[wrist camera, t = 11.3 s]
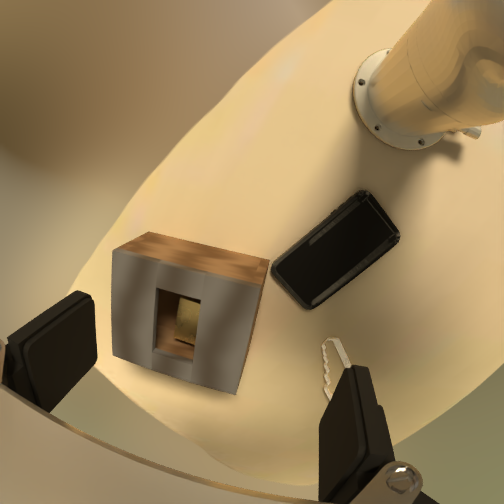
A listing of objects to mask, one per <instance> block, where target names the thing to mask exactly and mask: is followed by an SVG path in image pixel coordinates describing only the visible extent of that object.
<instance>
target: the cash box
mask: <svg viewBox="0 0 504 504" xmlns="http://www.w3.org/2000/svg"><path fill="white" fill-rule="evenodd" d="M269 261H270V260H267V259H262V258H258V257H254V256H250V255H245V254H241V253H237V252H233V251H228V250H224V249H220V248H216V247H211V246H207V245H203V244H199V243H194V242H190V241H186V240H182V239H177V238H173V237H169V236H165V235H161V234H156V233H152V232H147V233H145V234H143V235H141V236H139V237H137V238H135V239H133V240H131V241H130V242H128V243H126V244H124V245H122V246H120V247H118V248H116V249H114V250H113V252H112V281H111V324H112V352H113V356H116V357H118V358H121V359H123V360H126V361H129V362H131V363H134V364H137V365H140V366H142V367H145V368H148V369H151V370H154V371H157V372H160V373H162V374H165V375H168V376H172V377H175V378H178V379H181V380H184V381H187V382H191V383H194V384H197V385H201V386H204V387H208V388H211V389H215V390H219V391H222V392H226V393H230V394H234V395H236V392H237V389H238V385H239V382H240V379H241V375H242V372H243V369H244V365H245V362H246V358H247V355H248V351H249V347H250V343H251V338H252V334H253V330H254V326H255V321H256V317H257V313H258V309H259V304H260V300H261V296H262V291H263V287H264V283H265V278H266V274H267V269H268V265H269ZM182 295H185V296H188V297H192V298H196V299H200V300H201V305H200V312H199V319H198V326H197V334H196V341H195V345H194V344H191V343H188V342H185V341H182V340H179V339H176V338H174V331H175V324H176V318H177V312H178V306H179V301H180V297H181V296H182Z"/></svg>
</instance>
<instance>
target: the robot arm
mask: <svg viewBox="0 0 504 504" xmlns="http://www.w3.org/2000/svg"><path fill="white" fill-rule="evenodd" d="M359 82H361V83H362V86H360V85H359ZM353 96H354V102H355V106H356V109H357V112H358V114H359V116H360V118H361V120H362V121H363V123H364V124H365V126H366V127H367V128H368V129H369V131H370V132H371V133H373V134H374V135H375V136H376V137H377V138H378V139H380V140H381V141H383V142H384V143H386V144H388V145H390V146H393V147H395V148H399V149H404V150H418V149H423V148H427V147H430V146H431V145H433V144H435V143H437V142H438V141H439V140H440V139H441V138H442V137H443V136H444V134H445V133H446V132H447V131H452V132H456V131H457V130H458V131H460V132H462V133H463V134H465V135H467V136H469V137H471V138H473V139H478V138H479V136H480V134H481V126H482V125H489V124H494V123H498V122H500V121H503V120H504V0H431V2H430V3H429V5H428V6H427V7H426V9H425V10H424V11H423V12H422V14H421V15H420V16H419V17H418V18H417V20H416V21H415V22H414V23H413V24H412V25H411V26H410V28H409V29H408V30H407V31H406V32H405V34H404V35H403V36H402V37H401V38H400V40H399V41H398V42H397V43H396V44H395V46H394V47H393V48H388V49H383V50H380V51H377V52H375V53H374V54H372V55H370V56H369V57H368V58H367V59H366V60H365V61H364V62H363V63H362V64H361V66H360V67H359V69H358V71H357V74H356V76H355V80H354V84H353ZM375 126H377V127H378V130H375ZM418 140H419V141H420V142H421V143H420V145H419V143H418ZM7 339H8V344H7V345H5V344H4V342H3V341H2V340H1V339H0V504H439V503H437V502H436V501H435V500H433V499H431V498H430V497H429V496H427V495H426V494H424V493H423V492H422V491H421V488H422V486H423V479H422V476H421V474H420V472H419V471H418V470H417V469H416V468H415V467H413V466H412V465H411V464H408V463H406V462H401V461H395V457H394V452H393V448H392V443H391V439H390V434H389V430H388V426H387V422H386V418H385V414H384V410H383V407H382V406H381V405H378V404H377V400H376V396H375V391H374V388H373V384H372V380H371V376H370V372H369V369H368V367H364V366H358V365H351V367H350V368H345V369H344V371H343V374H342V376H341V378H340V380H339V383H338V385H337V387H336V389H335V391H334V393H333V396H332V398H331V400H330V402H329V404H328V406H327V408H326V410H325V412H324V414H323V416H322V418H321V421H320V424H319V496H318V498H319V501H313V500H306V499H298V498H292V497H285V496H279V495H273V494H268V493H263V492H258V491H253V490H248V489H243V488H238V487H234V486H230V485H226V484H222V483H218V482H214V481H210V480H207V479H203V478H200V477H196V476H193V475H189V474H187V473H183V472H180V471H177V470H174V469H171V468H168V467H165V466H162V465H159V464H157V463H154V462H151V461H149V460H146V459H143V458H141V457H138V456H136V455H133V454H131V453H128V452H126V451H124V450H121V449H119V448H117V447H114V446H112V445H110V444H108V443H105V442H103V441H101V440H99V439H97V438H95V437H93V436H91V435H89V434H87V433H85V432H83V431H81V430H79V429H77V428H75V427H73V426H71V425H69V424H67V423H66V422H64V421H62V420H60V419H58V418H57V417H55V416H53V415H51V414H50V412H51V411H52V410H53V409H54V408H55V406H56V405H57V404H58V403H59V402H60V401H61V400H62V399H63V398H64V397H65V396H66V394H67V393H68V392H69V391H70V390H71V389H72V388H73V387H74V386H75V385H76V384H77V383H78V381H79V380H80V379H81V378H82V377H83V376H84V375H85V374H86V373H87V372H88V371H89V370H90V369H91V367H93V366H94V364H95V363H96V361H97V343H96V327H95V304H94V300H92V297H91V296H90V295H89V294H87V293H84V292H81V291H78V290H77V291H75V292H73V293H72V294H70V295H68V296H67V297H65V298H64V299H62V300H61V301H59V302H58V303H57V304H55V305H53V306H52V307H50V308H49V309H47V310H46V311H44V312H43V313H42V314H40V315H39V316H37V317H36V318H34V319H33V320H31V321H30V322H28V323H27V324H26V325H24V326H23V327H21V328H20V329H18V330H17V331H16V332H14V333H13V334H11V335H10V336H9V337H7Z"/></svg>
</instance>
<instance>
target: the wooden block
mask: <svg viewBox="0 0 504 504" xmlns="http://www.w3.org/2000/svg"><path fill="white" fill-rule="evenodd" d="M200 305H201V300H200V299H196V298H192V297H188V296H185V295H182V296H181V297H180V301H179V306H178V312H177V318H176V324H175V331H174V338H176V339H179V340H182V341H185V342H188V343H191V344H194V345H195V341H196V334H197V326H198V319H199V312H200Z"/></svg>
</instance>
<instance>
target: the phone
mask: <svg viewBox="0 0 504 504" xmlns="http://www.w3.org/2000/svg"><path fill="white" fill-rule="evenodd" d="M399 240H400V232H399V231H398V229H397V228H396V226H395V225H394V224H393V222H392V221H391V219H390V218H389V217H388V215H387V214H386V213H385V211H384V210H383V209H382V207H381V206H380V205H379V203H378V202H377V201H376V199H375V198H374V197H373V195H372V194H371V193H370V192H368V191H365V190H361V191H358V192H357V193H355V194H354V195H353V196H352V197H350V198H349V199H348V200H347V201H346V202H345V203H343V204H342V205H340V206H339V207H338V209H335V210H334V211H333V212H332V213H331V214H330V215H329V216H328V217H327V218H326V219H324V220H323V221H322V222H321V223H320V224H318V225H317V226H316V227H315V228H314V229H312V230H311V231H310V232H309V233H308V234H306V235H305V236H304V237H303V238H301V239H300V240H299V241H298V242H297V243H295V244H294V245H293V246H292V247H291V248H289V249H288V250H287V251H286V252H284V253H283V254H282V255H281V256H280V257H278V258H277V259H276V260H275V261H274V262H273V264H272V269H271V270H272V273H273V275H274V276H275V277H276V278H277V279H278V280H279V281H280V282H281V284H282V285H283V286H284V287H285V288H286V289H287V290H288V291H289V292H290V294H291V295H292V296H293V297H294V298H295V299H296V300H297V301H298V302H299V303H300V305H301V306H302V307H303V308H305V309H308V310H311V309H314V308H316V307H317V306H319V305H320V304H321V303H323V302H324V301H325V300H327V299H328V298H329V297H331V296H332V295H333V294H335V293H336V292H337V291H338V290H340V289H341V288H342V287H344V286H345V285H346V284H348V283H349V282H350V281H351V280H353V279H354V278H355V277H357V276H358V275H359V274H360V273H362V272H363V271H364V270H365V269H367V268H368V267H369V266H370V265H372V264H373V263H374V262H375V261H377V260H378V259H379V258H380V257H382V256H383V255H384V254H385V253H386V252H388V251H389V250H390V249H391V248H392V247H394V246H395V245H396V244H397V243H398V242H399Z"/></svg>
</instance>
